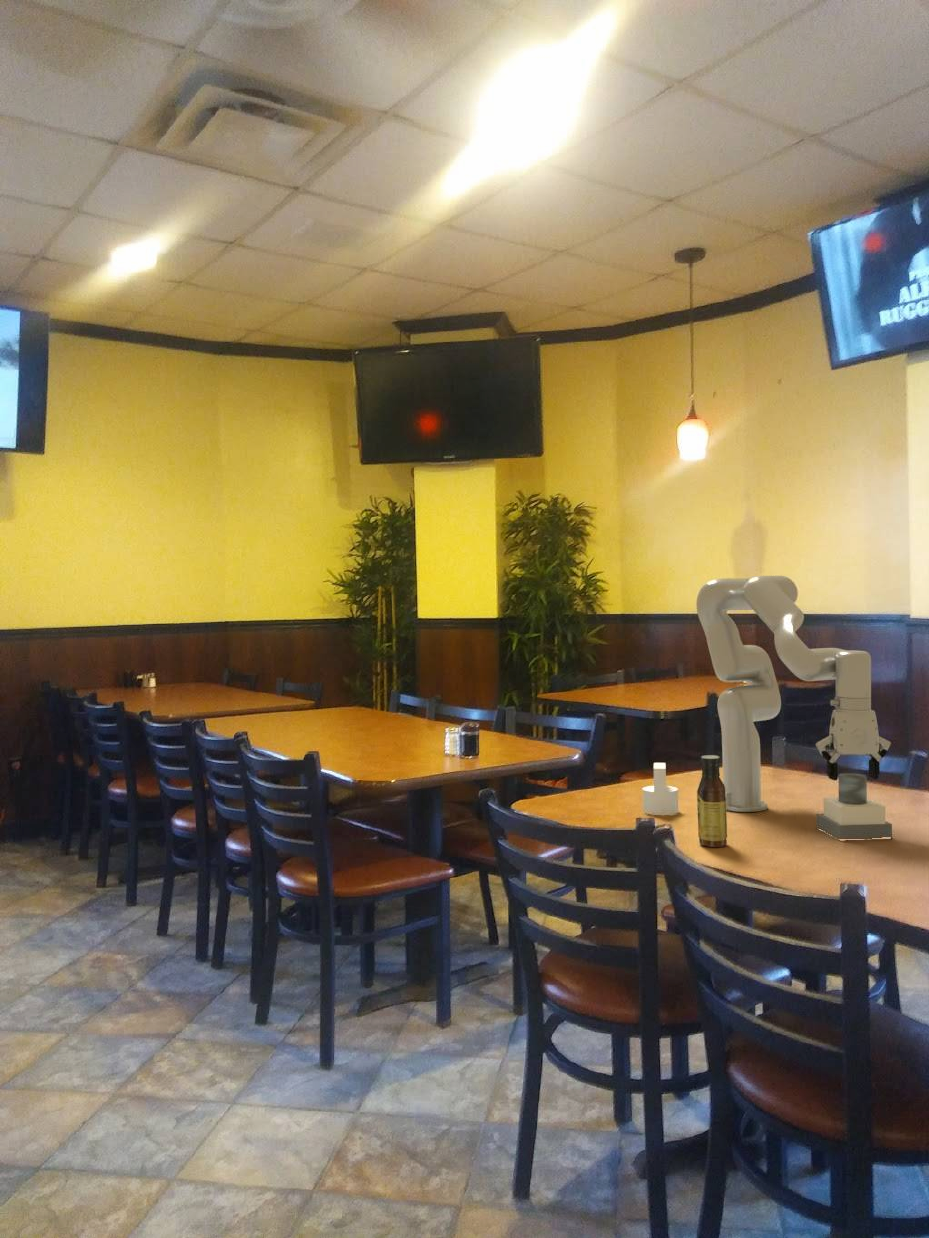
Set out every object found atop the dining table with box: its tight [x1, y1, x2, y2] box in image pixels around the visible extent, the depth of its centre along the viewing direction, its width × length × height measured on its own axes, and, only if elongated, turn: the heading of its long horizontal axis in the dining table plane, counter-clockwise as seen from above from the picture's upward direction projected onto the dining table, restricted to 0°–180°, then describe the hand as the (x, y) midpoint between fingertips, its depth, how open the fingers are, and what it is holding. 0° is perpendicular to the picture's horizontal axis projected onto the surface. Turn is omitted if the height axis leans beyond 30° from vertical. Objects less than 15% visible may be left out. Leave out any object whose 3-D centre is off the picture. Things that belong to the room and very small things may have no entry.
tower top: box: [823, 797, 886, 825], centre depth 220 cm, size 10×10×4 cm
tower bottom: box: [816, 813, 893, 839], centre depth 220 cm, size 12×12×4 cm
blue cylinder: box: [838, 772, 868, 805], centre depth 220 cm, size 6×6×6 cm
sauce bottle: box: [696, 754, 728, 849], centre depth 213 cm, size 6×6×20 cm
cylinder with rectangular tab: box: [641, 762, 679, 816], centre depth 247 cm, size 9×9×12 cm
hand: (853, 778), depth 220 cm, fingers open, 9 cm apart
